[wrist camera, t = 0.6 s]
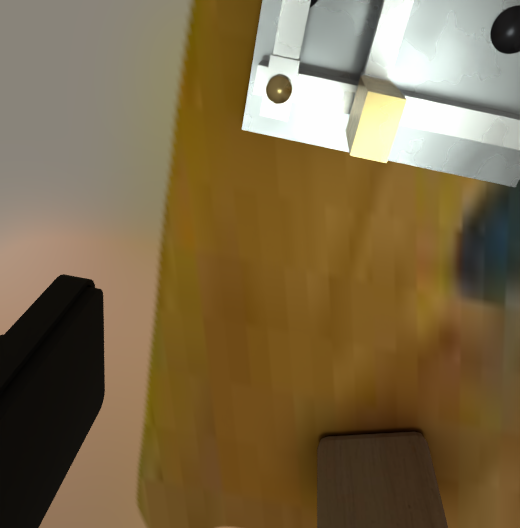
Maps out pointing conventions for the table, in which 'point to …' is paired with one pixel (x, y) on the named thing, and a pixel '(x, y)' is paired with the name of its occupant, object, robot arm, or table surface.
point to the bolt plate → (396, 80)
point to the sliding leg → (379, 88)
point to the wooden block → (377, 482)
